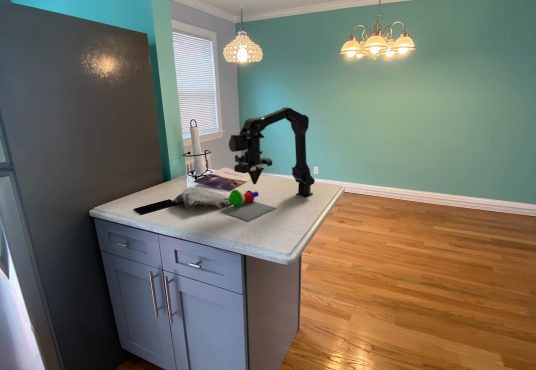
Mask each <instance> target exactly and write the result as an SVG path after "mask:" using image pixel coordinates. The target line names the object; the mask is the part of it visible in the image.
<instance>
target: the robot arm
mask: <svg viewBox="0 0 536 370" xmlns="http://www.w3.org/2000/svg"><path fill="white" fill-rule="evenodd" d="M282 120H286V121H288V122H289V123H290V127H291V129H292V131H293V133H294V142H295V143H294V144H295V145H294V146H295V148H294V149H295V165H294V166H293V167H291V170H292V171H291V172H292V173H291V175H292V176H293V179H294V181H295V183H298V191H297V193H295V196H298V197H303V198H308V197H310V196H312V195H314V193H313V192H312V191H311V187H312V185H315V180H316V179H315V178H314V177H312V175H311V169H310V167H309V165H308V163H307V145H306V133H307V131H308V129H309V125H310V124H309V123H310V122H309V121H310V119H309V116H307V115H306V114H302V113H301V112H298V111H296V110H294V109H293V108H292V107H284V106H283V107H282V108H280V109H278V110H275V111H274V112H271V113H268V114H266V115H263V116H260V117H259V116H258V117H252V118H247V119H246V120H244V123H243V127H242V129H241V130H240V132H239V134H231V135H230V139H229V142H228V148H229V150H230V151H231V152H232V153H235V152H236V153H237V152H242V151H243V152H244V155H243V154H242V155H241V154H239V153H238V154H235V155H234V162H235V163H238V164H235V165H234V167H233V168H234V169H233V171H234V172H235V173H239V174H240V173H241V174H246V173H248V174H249V175H248V176H250V180H251V183H252V184H253V185H257V183H258V180H259V178H260V176H261V174H262V173H263V171H264V170H265V168H264V167H262V166H263V165H266V166H267V167H270V166H273V160H272V159H271V158H268V157H261V155H262V154H263V151H262V150H261V139H263V138H265V136H264V135H263V134H262V132H263V131H264V130H265V129H266V127H268V126H270V125H272V124H275V123H278V122H279V121H282Z"/></svg>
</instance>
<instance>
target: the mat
mask: <svg viewBox="0 0 536 370" xmlns="http://www.w3.org/2000/svg"><path fill="white" fill-rule="evenodd" d="M276 209H277V207H275V206H271V205H267V204H265V203H261V202H256V201H253V202H243V203H242V205H241V206H239V207H236V206H234V205H231V206H228V207H227V208H224V209H222V210H220V211H219V212H220V213H222V214H226V215H228V216H231V217H234V218H237V219H240V220H243V221H246V222H247V223H248V222H251V221H252V220H255V219H257V218H259V217H261V216H263V215H266V214H267V213H270V212H272V211H274V210H276Z"/></svg>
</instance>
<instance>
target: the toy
mask: <svg viewBox="0 0 536 370" xmlns="http://www.w3.org/2000/svg"><path fill="white" fill-rule="evenodd" d="M228 197H229V202H230V203H231V204H232V205H231V206H236V207H239V206H241V205H242V203H243V202H253V201H254V200H255V198H257V197H259V192H258V191H254V192H252V190H247V191H246V192H244V193H243V192H240V191H239V190H238V189H233V190H231V191H230V194H229V196H228ZM254 202H255V201H254Z"/></svg>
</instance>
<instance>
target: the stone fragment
mask: <svg viewBox="0 0 536 370" xmlns="http://www.w3.org/2000/svg"><path fill="white" fill-rule="evenodd" d="M180 202H183V203H182V204H183V205H182V207H183V208H186V209H187V208H190V206H191V207H195V206H197V205H198V204H199V205H200V206H202V205H203V206H210V205H211V206H215V207H217V208H219V209H221V208H223V207H231V206H233V205H232V204H231V203H230V202H229V196H228V195H226V194H223V193H220V192H218V191H213V190H208V189H205V188H202V187H197V186H196V187H194V186H190V187H187V188H186V189H184V190H183V191H182V192H181V193H180V194H179V195H177V196H176V197H175V198H174V199H173V200H172V201H171V202H170V204H171V203H172V204H173V203H176V204H179V203H180Z"/></svg>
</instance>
